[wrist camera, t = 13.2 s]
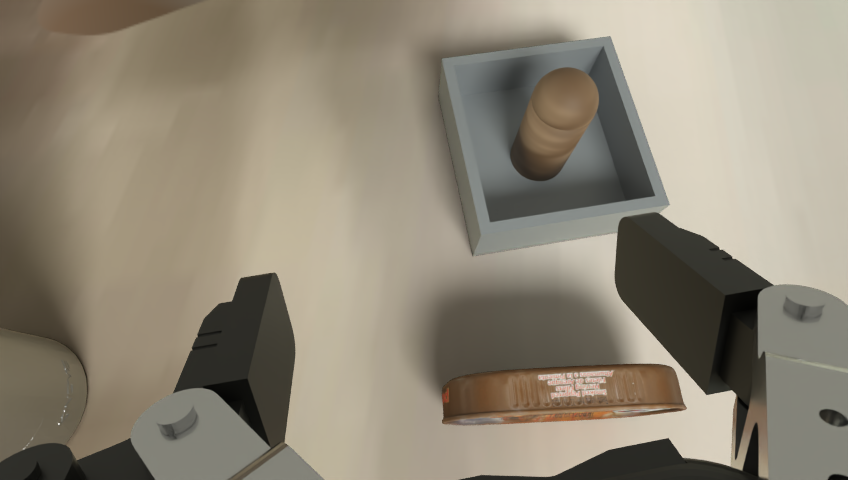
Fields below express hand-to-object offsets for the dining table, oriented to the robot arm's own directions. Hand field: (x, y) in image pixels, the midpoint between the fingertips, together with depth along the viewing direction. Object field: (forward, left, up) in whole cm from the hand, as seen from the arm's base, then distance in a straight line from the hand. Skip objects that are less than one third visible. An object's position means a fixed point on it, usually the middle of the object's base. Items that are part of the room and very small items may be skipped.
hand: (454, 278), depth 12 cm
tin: (+8, -3, -27) cm, 28 cm away
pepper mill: (+12, +15, -26) cm, 32 cm away
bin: (+12, +15, -27) cm, 33 cm away
